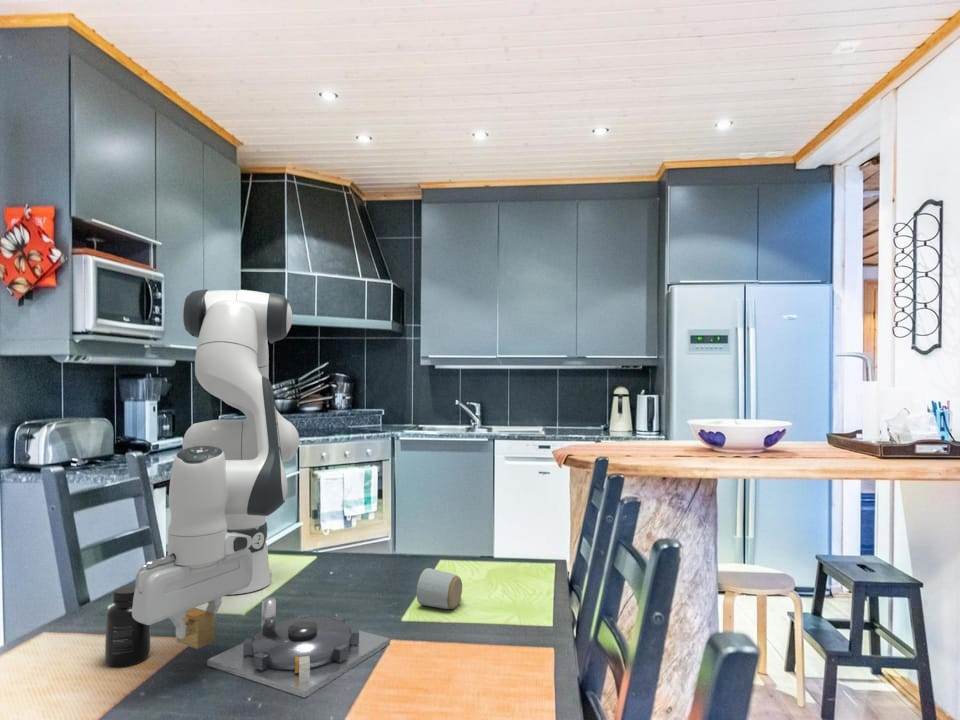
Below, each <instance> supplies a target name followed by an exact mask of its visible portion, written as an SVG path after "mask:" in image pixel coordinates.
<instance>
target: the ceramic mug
mask: <svg viewBox="0 0 960 720" xmlns="http://www.w3.org/2000/svg"><path fill="white" fill-rule="evenodd" d="M462 593H463V582H462V579H461V577H460V576H458V575H457V574H454V573H451V572H447V571H442V570H439V569H435V568H430V567H426V568H425V569H424V570H422V572H421V573H420V575H419V578H418V581H417V585H416V600H417V603H418V604H419V605H421V606H425V607H432V608H437V609H444V610H453V609H455V608H456V607H457V606H458V605H459V603H460V601H461V599H462Z"/></svg>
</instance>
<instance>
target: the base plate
mask: <svg viewBox="0 0 960 720" xmlns="http://www.w3.org/2000/svg"><path fill="white" fill-rule="evenodd" d="M390 641H391V638H388V637H386V636H382V635H376V634H373V633H370V632H365V631H361V630H359V644H351V647H350V649H349V650H348V658H347V659H345V660H343V661H342V662H337V661H331V662H329V663H326V664H323V665H319V666H315V667H310V656H306V657H299V673H295V669H275V668H270V667H268V668H266V669H264V670H259V669H256V668H254V659H253V658H252V654H250V655H243V643H244V642H242V643H240V644H238V645H235V646H233V647H232V648H229V649H227V650H225V651H222V652H221V653H219V654H216V655H214V656H211V657H210V658H208V659H207V660H206V661H207V663H206V664H207V666H208V667H211V668H214V669H217V670H219V671H223V672H225V673H228V674H232V675H234V676H238V677H240V678H244V679H246V680H249V681H252V682H256V683H259V684H262V685H264V686H268V687H270V688H273V689H277V690H279V691H282V692H286V693H288V694H292V695H295V696H298V697H301V698H304V699H305V698H307V697H308V696H310V695H312V694H313V693H315V692H317V691H318V690H320V689H322V687H324V686H326V685H328V684H329V683H331V682H332V681H334V680H335V679H337V678H339V677H340V676H342V675H343V674H345V673H346V672H347V671H350V670H351V669H352V668H355V667H356V666H357V665H359V664H361V663H362V662H364V661H366V660H367V659H368V658H369V657H371V656H373V655H374V654H376V653H378V652H380V651H382V650H383V649H385V647H388V645H390V644H391V643H390Z"/></svg>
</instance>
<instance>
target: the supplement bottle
mask: <svg viewBox="0 0 960 720" xmlns="http://www.w3.org/2000/svg"><path fill="white" fill-rule="evenodd" d="M135 587H136V584H134V585H133V584H132V585H127V586H123V587H122V586H121V587H119V588H116V589H115V590H113V598H112V603H113V605H112V606H111V607H109V608H108V609H107V612H106V615H105V645H104V647H105V650H104V655H105V656H104V661H105V664H106V665H107V666H109V667H113V668H123V667H129V666H133V665H136V664H139V663H141V662H143V661H145V660H146V659H147V658H148V657H149V656H150V653H151V629H152V627H151V626H152V625H145V624H142V623H139V622H137V621H136V620H135V619H134V618H133V617H132V606H133V598H134V592H135Z"/></svg>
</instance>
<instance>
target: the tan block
mask: <svg viewBox="0 0 960 720" xmlns="http://www.w3.org/2000/svg"><path fill="white" fill-rule="evenodd" d="M182 619H183V621H184V623H186V624H189V625H191V630H190V632H191V634H190V635H189V636H187V637H185V638H183V639H180V638H177V637H176V642H177V643H178V644H182V645H184V646H187V647H190V648H194V649H197V650H198V649H200V648H203V647H204V646H207V645H209V644H212V643H214V642H215V624H216V615H215V614H214V613H211V612H207V611H206V610H204V609H200V608H197V607H195V608H192V609H190V610H187V611H186V614H185V617H184V618H182Z"/></svg>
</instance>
